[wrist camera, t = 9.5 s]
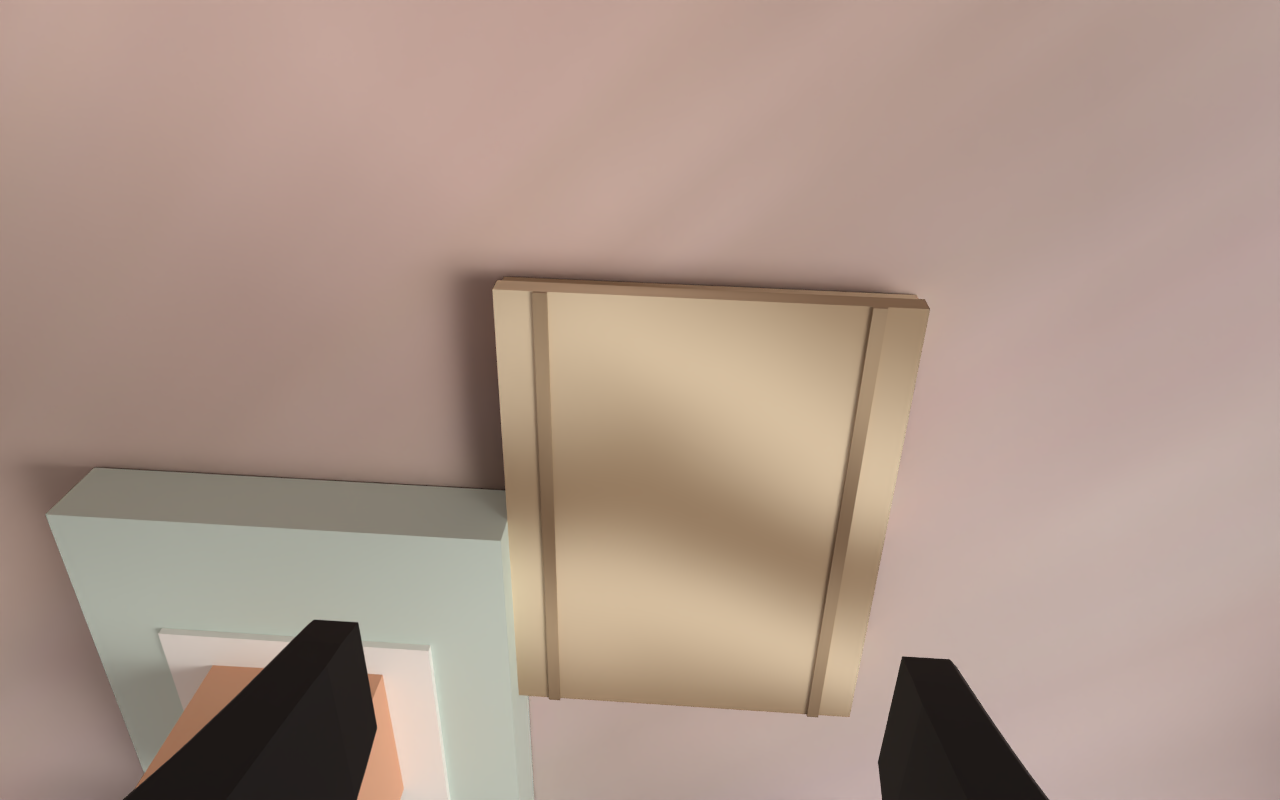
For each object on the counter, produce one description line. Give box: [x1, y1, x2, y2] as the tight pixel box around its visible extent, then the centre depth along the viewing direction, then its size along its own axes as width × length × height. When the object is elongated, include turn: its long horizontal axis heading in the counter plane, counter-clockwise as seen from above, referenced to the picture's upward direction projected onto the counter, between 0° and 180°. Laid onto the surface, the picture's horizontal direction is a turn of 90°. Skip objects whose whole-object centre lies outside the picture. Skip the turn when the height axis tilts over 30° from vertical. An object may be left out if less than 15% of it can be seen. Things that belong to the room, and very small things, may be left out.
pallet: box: [492, 277, 930, 717], centre depth 22 cm, size 12×9×1 cm
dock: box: [45, 468, 534, 800], centre depth 24 cm, size 14×11×5 cm
